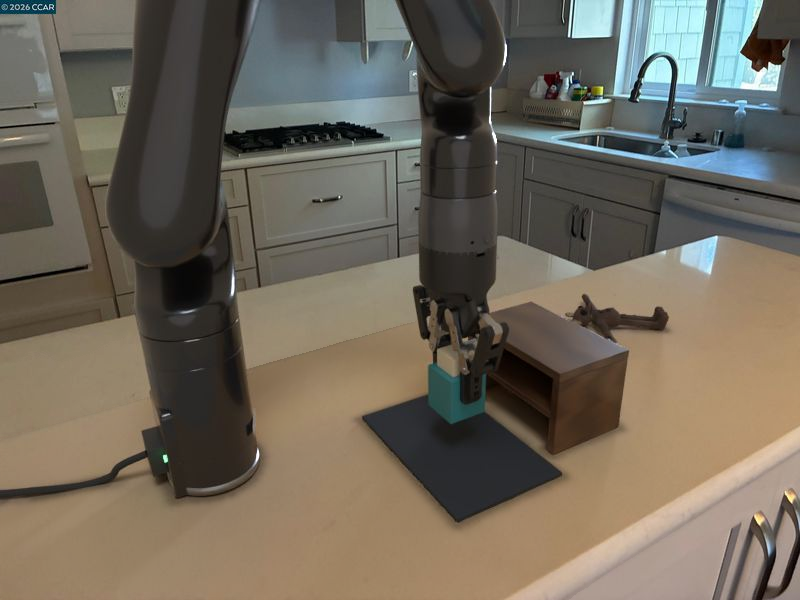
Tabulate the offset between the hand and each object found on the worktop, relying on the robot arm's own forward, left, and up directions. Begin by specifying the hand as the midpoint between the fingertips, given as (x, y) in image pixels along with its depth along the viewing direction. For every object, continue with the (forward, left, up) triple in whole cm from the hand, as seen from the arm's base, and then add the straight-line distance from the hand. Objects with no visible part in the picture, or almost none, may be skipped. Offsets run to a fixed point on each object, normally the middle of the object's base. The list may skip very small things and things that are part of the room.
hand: (456, 390), depth 65 cm
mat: (0, 0, -7) cm, 7 cm away
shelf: (+13, +1, -7) cm, 15 cm away
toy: (0, 0, -2) cm, 2 cm away
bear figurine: (+38, +12, -7) cm, 40 cm away
